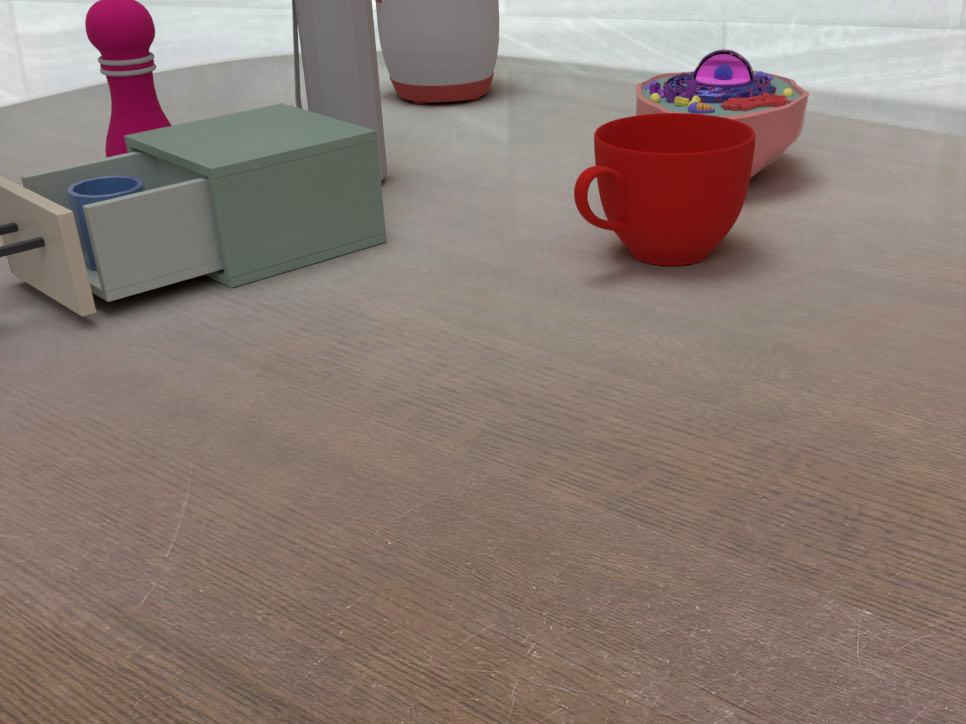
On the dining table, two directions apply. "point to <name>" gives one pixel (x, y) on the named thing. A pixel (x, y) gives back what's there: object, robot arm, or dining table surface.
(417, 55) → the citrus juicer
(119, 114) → the pepper mill
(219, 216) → the green storage cabinet
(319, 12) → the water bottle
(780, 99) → the cell model
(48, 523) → the dining table surface
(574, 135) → the dining table surface
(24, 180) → the drawer
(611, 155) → the ceramic cup
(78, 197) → the cup
